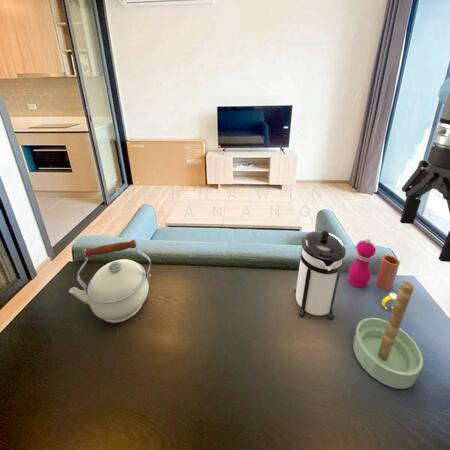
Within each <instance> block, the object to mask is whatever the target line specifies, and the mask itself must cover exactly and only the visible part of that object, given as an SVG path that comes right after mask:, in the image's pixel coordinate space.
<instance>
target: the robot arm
mask: <svg viewBox="0 0 450 450" xmlns="http://www.w3.org/2000/svg"><path fill="white" fill-rule="evenodd" d="M437 94H438V95H437V97H438V99H439V102H440V103H441V104H442V105H443V107H442V112H441V114H440V118H439V121H438V122H439V123H438V125H437V128H436V132H435V134H434V138H433V142H434V143H435V144H433V145H431V146H430V149H429V153H428V156H427V159H425V160H423V159H422V160H420V161H418V165H417V168H416V169H415V170H414V171H413V173H412V174H411V175H410V177H409V178H408V180H407V181H406V182H405V183H404V184H403V186H402V187H401V191H402V193H404V195H405V201H404V205H403V210H402V213H401V216H400V219H399V222H400V223H401V224H407V225H413V224H415V219H416V217H417V214H418V211H419V208H420V205H421V202H422V201H421V199H422V196H423V195H426V194H427V193H429V192H430V191H431V190H436V191H437V192H438V193H440V194H441V195H442V198H443V199H444V200H446V203H447V209H448V213H449V214H450V77H448V78H446V79H445V80H444V81H443V82H442V84H441V86H439V89H438V93H437ZM438 260H439V261H440V262H444V263H445V262H446V263H450V230H449V231H448V233H447V235H446V238H445V241H444V243H443V245H442V249H441V251H440V253H439V256H438Z"/></svg>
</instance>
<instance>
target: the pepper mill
mask: <svg viewBox="0 0 450 450" xmlns="http://www.w3.org/2000/svg"><path fill="white" fill-rule="evenodd" d="M375 254H376V246H375V245H374V244H373V243H372V240H371V239H370V238H365V240H360V241H359V242H357V244H356V253H355V256H356V260H355V261H354V262H353V263H352V264H351V265H350V267H349V269H348V274H349V275H348V278H347V279H348V282H349V283H350V285H352V286H353V287H355V288H357V289H365V288H366V287H367V286H368V282H369V281H370V280H371V274H372V273H371V269H370V262H372V260H373V257H374V255H375Z"/></svg>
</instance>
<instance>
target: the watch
mask: <svg viewBox="0 0 450 450" xmlns="http://www.w3.org/2000/svg"><path fill="white" fill-rule="evenodd" d="M397 295H398V293H394V292H389V293H388V295H386V296H384V297H383V299H382V300H381V304H382V307H383V309H384V310H387V311H388V307H387V306H386V303H387V302H389V301H391V300H392V301H394V302H395V301H396V298H397ZM393 307H394V306H391V307H390V308H391V309H392V310H393Z"/></svg>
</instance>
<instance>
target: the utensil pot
mask: <svg viewBox="0 0 450 450" xmlns="http://www.w3.org/2000/svg"><path fill="white" fill-rule="evenodd" d="M400 265H401V261H400V259H398V258H397V257H395V256H393V255H389V254H384V255H383V256H382V258H381V262H380V265H379V269H378V272H377V275H376V280H375V283H376V285H377V286H378V287H379V288H381V289H383V290H385V291H391V290H393V287H394V283H395V280H396V277H397V274H398V271H399V268H400Z"/></svg>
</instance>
